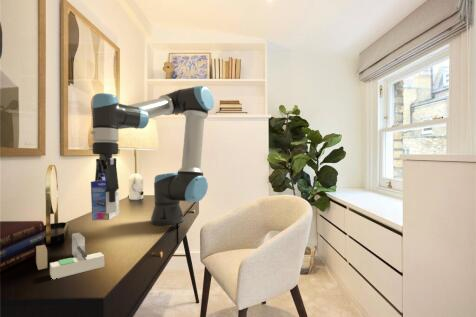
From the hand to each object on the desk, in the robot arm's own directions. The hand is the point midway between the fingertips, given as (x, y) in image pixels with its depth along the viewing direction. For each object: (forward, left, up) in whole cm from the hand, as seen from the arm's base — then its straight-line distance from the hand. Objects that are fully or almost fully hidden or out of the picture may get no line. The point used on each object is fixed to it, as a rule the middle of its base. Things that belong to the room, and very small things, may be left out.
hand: (105, 210), depth 86 cm
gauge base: (+11, +5, -13) cm, 18 cm away
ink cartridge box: (0, 0, -3) cm, 3 cm away
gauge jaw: (+8, +4, -13) cm, 16 cm away
